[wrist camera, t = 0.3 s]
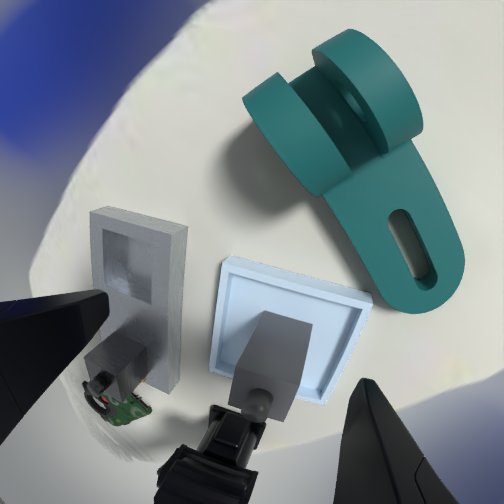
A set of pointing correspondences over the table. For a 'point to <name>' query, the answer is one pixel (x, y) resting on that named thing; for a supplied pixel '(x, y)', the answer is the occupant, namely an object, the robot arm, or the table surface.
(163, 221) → the grey socket base
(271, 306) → the tray
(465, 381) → the table surface
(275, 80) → the bracket
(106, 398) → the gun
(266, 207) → the table surface
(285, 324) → the plug
